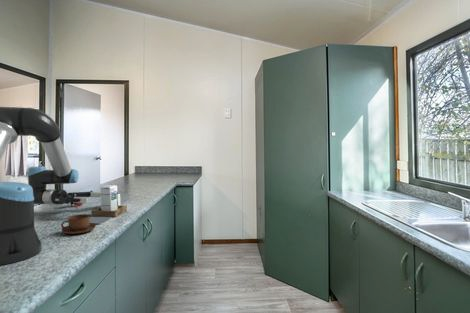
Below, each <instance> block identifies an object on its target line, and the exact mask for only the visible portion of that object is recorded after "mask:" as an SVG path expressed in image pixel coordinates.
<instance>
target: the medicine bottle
mask: <svg viewBox="0 0 470 313" xmlns="http://www.w3.org/2000/svg"><path fill="white" fill-rule="evenodd" d="M118 206H121V194H120V193H118Z"/></svg>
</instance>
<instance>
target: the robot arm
mask: <svg viewBox="0 0 470 313" xmlns="http://www.w3.org/2000/svg"><path fill="white" fill-rule="evenodd" d="M24 136H26V137H27V136H28V137H29V136H30V137H31V136H32V137H34V138H35V139H36V141H38V142H39V143H40V144H41V147H42V149H43V151H44V153H45V154H46V158H47V160H48V162H49V163H50V166H51V168H52V169H47V168H46V166H43V165H42V166H30V167H28V169H27V171H28V172H27V181H28V182H27V183H24V182H19V181H0V266H1V265H7V264H14V263H17V262H21V261H24V260H28V259H29V258H32V257H35V256H36V255H38V254H40V252H42V241H41V240H40V239H39V235H38V234H37V230H36V228H35V210H34V209H35V205H49V206H51V205H63V204H66V205H72V206H73V205H74V204H73V202H74V203H83V204H88V202H89V201H88V200H89V199H88V198H101V191H99V192H98V191H95V192H93V190H90V191H83V192H82V191H79V192H78V191H75V192H74V191H73V192H67V191H66V190H65V189H47V185H67V184H68V185H69V184H76V183H78V181H79V171H78V170H77V169H75V168H74V169H72V168H71V165H70V162H69V158H68V157H67V154H66V151H65V148H64V145H63V143H62V140H61V136H62V132H61V130H60V127H59V126H58V124H57V123H56V122H55V121H54V119H53V118H52V117H51V116H49V114H47V113H45V112H43V111H42V110H40V109H37V108H33V107H17V106H15V107H14V106H13V107H12V106H0V161H1V160H2V158H3V156H4V154H5V152H6V150H7V148H8V146H9V145H10V144H13V143H14V142H16V141H17V139H18V137H24Z"/></svg>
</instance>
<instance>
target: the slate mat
mask: <svg viewBox="0 0 470 313" xmlns="http://www.w3.org/2000/svg"><path fill="white" fill-rule="evenodd" d="M111 219H112V217H91V216H89V223H94V224H96V226H99V225H101V224H103V223H105V222H107V221H109V220H111Z"/></svg>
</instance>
